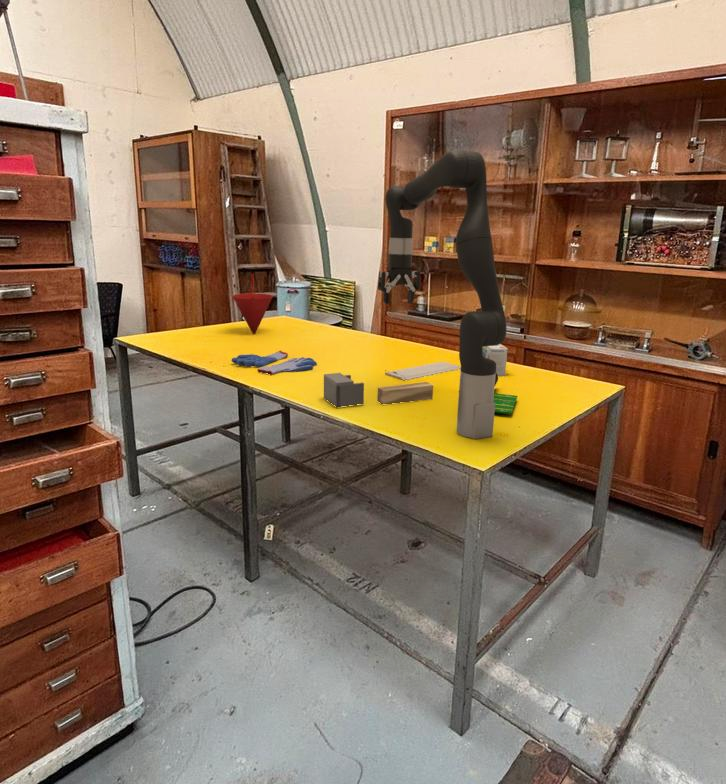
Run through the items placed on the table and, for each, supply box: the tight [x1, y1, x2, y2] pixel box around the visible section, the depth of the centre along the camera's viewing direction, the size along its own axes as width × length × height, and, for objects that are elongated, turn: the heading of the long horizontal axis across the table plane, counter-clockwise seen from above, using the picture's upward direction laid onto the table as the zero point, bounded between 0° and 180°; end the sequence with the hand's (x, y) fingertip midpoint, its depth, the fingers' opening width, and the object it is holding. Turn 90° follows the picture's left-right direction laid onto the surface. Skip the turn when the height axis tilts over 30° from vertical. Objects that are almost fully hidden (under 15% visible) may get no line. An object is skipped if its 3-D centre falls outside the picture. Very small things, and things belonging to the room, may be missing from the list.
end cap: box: [323, 372, 365, 408], centre depth 180 cm, size 11×9×8 cm
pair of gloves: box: [231, 350, 318, 376], centre depth 226 cm, size 32×26×4 cm
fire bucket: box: [231, 273, 274, 335], centre depth 280 cm, size 22×20×30 cm
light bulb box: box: [482, 343, 509, 377], centre depth 219 cm, size 11×7×11 cm, turn 5°
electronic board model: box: [493, 373, 518, 415], centre depth 184 cm, size 30×7×15 cm
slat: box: [376, 381, 434, 405], centre depth 183 cm, size 4×18×5 cm, turn 115°
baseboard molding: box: [384, 361, 461, 382], centre depth 219 cm, size 31×3×12 cm
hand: (398, 303), depth 187 cm, fingers open, 8 cm apart
